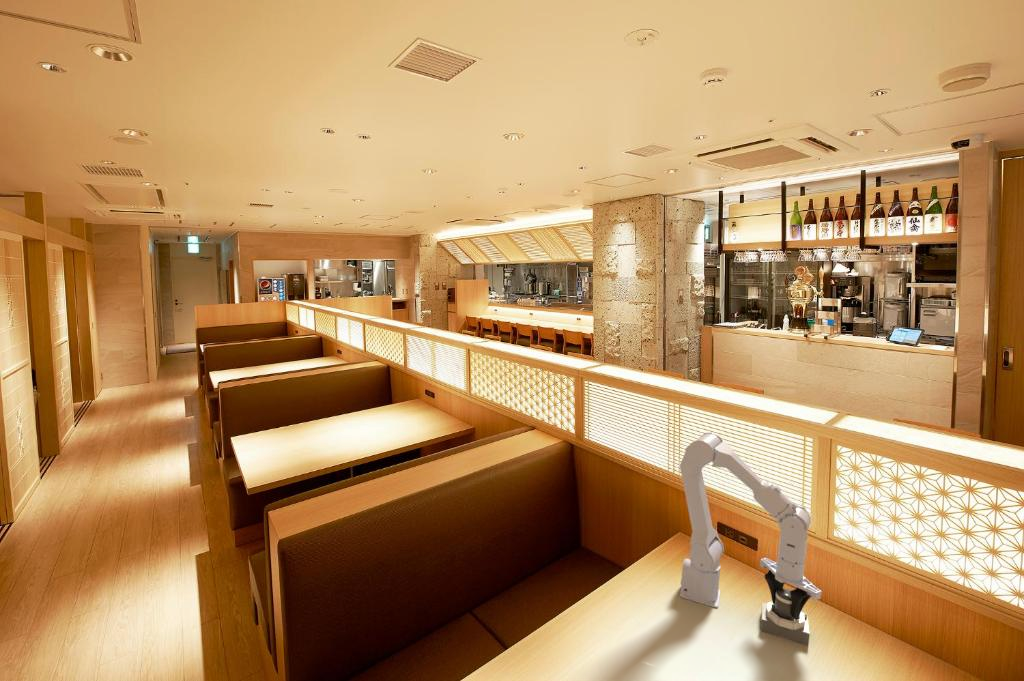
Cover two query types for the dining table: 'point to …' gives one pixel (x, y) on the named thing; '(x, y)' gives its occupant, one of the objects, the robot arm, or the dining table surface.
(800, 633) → the octagonal ring base
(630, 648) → the dining table surface
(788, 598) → the lens
